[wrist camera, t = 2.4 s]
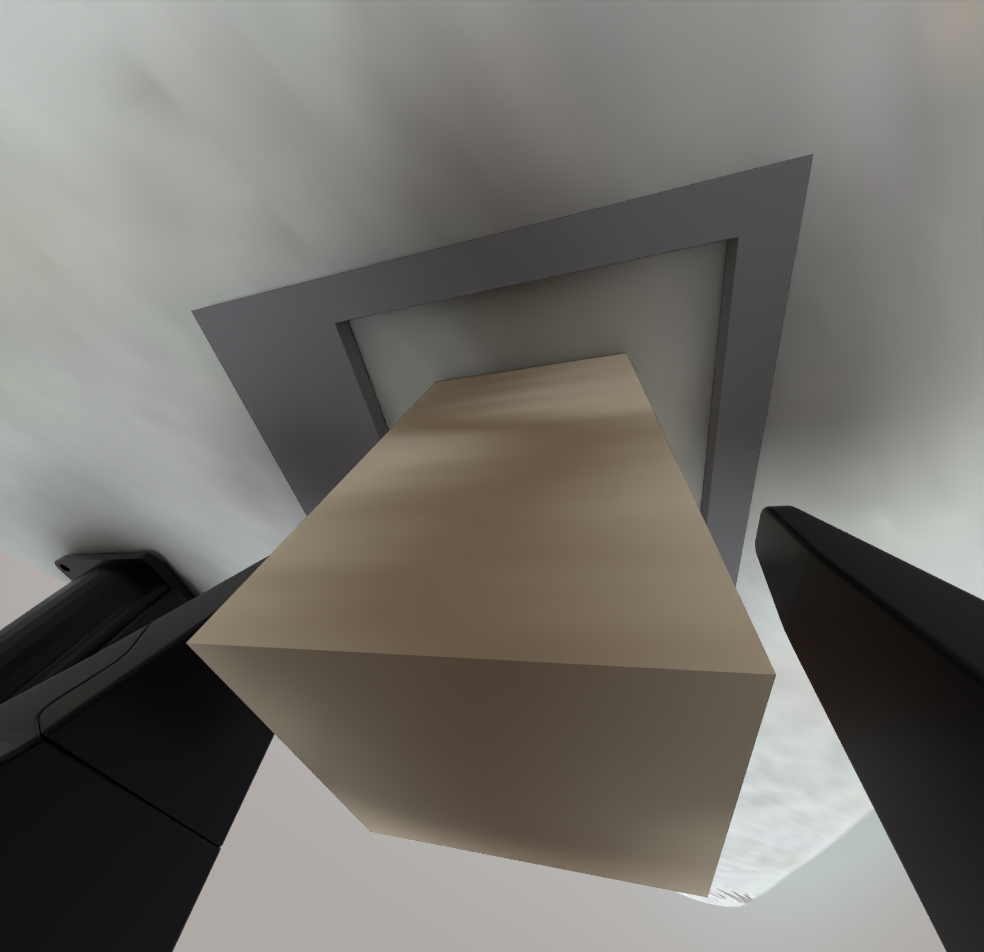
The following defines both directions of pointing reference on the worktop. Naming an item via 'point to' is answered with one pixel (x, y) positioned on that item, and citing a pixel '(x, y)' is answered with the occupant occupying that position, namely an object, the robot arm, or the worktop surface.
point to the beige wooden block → (513, 634)
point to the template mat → (508, 261)
